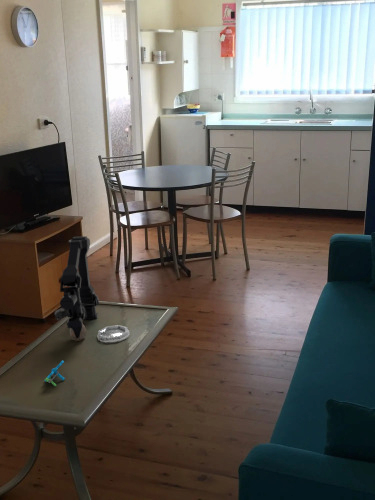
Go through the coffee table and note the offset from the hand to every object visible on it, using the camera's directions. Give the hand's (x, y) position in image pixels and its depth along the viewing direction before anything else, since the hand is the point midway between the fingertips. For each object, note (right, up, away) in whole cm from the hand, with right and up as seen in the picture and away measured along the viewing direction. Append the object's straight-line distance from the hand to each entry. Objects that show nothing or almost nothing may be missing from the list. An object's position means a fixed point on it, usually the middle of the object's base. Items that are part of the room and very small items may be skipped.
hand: (78, 334), depth 249 cm
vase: (0, -2, +1) cm, 2 cm away
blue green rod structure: (-2, -13, -33) cm, 36 cm away
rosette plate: (+15, -1, +1) cm, 15 cm away
